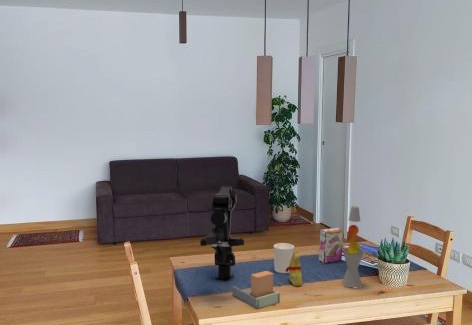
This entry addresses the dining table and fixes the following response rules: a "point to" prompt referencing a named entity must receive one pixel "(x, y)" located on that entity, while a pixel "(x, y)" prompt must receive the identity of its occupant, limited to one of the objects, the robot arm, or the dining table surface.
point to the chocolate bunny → (295, 269)
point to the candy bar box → (330, 245)
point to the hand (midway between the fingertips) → (222, 263)
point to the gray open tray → (256, 302)
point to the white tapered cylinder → (282, 256)
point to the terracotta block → (261, 284)
